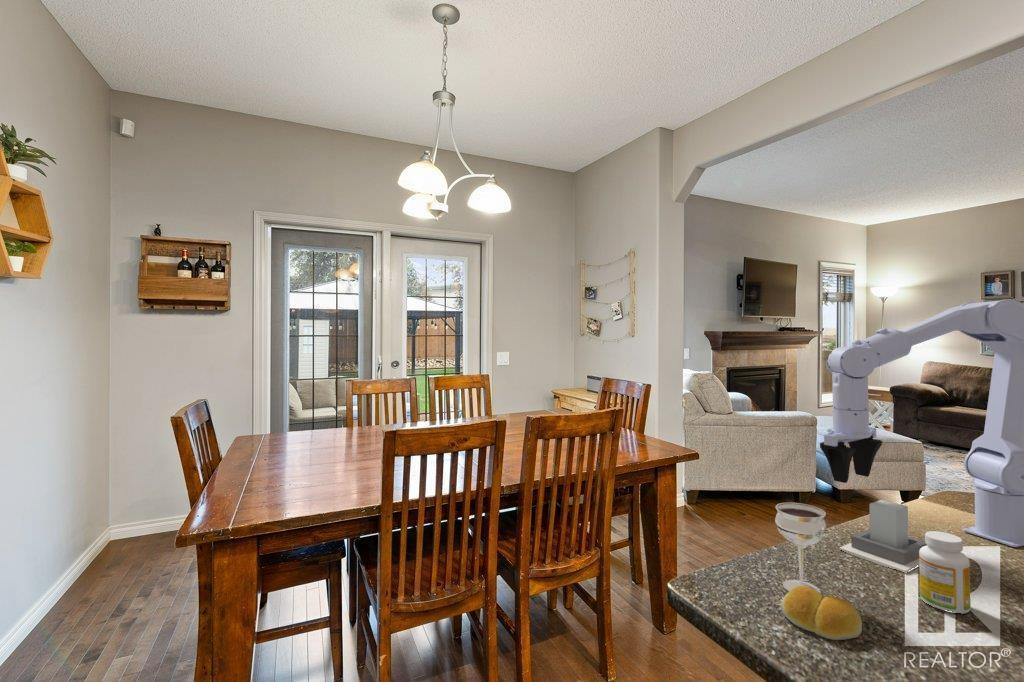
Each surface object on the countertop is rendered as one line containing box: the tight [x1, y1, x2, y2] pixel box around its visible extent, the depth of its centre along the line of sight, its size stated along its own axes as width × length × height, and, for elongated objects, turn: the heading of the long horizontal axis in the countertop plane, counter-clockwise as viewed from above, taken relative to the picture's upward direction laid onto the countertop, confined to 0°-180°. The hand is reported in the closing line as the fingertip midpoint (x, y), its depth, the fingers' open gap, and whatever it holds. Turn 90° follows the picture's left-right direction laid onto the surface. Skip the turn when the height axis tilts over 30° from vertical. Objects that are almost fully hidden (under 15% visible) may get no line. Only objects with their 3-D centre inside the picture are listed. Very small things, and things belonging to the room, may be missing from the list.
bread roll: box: [780, 586, 863, 641], centre depth 66 cm, size 8×9×4 cm
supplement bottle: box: [919, 530, 972, 615], centre depth 69 cm, size 5×5×10 cm
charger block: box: [868, 499, 909, 549], centre depth 85 cm, size 4×4×8 cm
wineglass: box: [774, 502, 827, 594], centre depth 74 cm, size 7×7×12 cm
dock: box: [838, 528, 927, 574], centre depth 85 cm, size 12×10×2 cm
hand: (851, 478), depth 94 cm, fingers open, 7 cm apart
